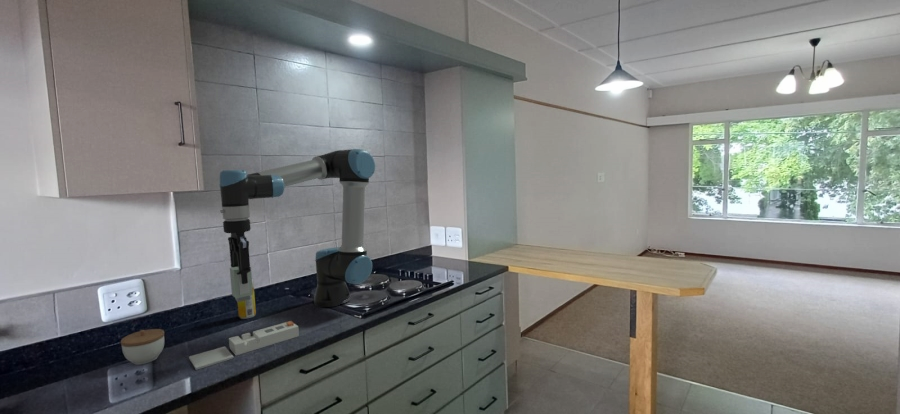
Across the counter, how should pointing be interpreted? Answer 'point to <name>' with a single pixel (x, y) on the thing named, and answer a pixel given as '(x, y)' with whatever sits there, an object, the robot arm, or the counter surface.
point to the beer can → (247, 307)
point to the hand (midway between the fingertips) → (242, 291)
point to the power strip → (263, 337)
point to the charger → (236, 285)
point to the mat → (210, 357)
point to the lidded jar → (143, 346)
